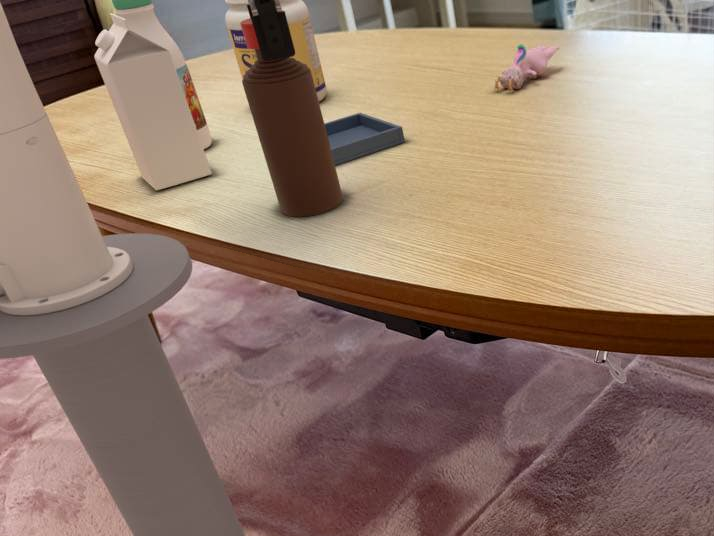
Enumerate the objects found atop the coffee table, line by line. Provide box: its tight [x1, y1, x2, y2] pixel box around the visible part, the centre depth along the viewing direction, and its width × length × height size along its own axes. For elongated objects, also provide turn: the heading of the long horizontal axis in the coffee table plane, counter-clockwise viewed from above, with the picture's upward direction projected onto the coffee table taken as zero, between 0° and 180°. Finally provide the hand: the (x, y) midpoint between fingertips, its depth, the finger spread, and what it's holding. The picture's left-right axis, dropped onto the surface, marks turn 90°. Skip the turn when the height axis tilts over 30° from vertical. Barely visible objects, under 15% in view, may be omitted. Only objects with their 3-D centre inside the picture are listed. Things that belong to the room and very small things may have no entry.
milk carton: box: [94, 12, 213, 191], centre depth 98 cm, size 7×7×19 cm
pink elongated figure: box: [494, 43, 560, 94], centre depth 123 cm, size 6×6×15 cm
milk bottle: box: [111, 0, 213, 150], centre depth 107 cm, size 8×8×20 cm
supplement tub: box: [224, 0, 327, 103], centre depth 123 cm, size 12×12×17 cm
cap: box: [240, 18, 260, 49], centre depth 80 cm, size 4×4×2 cm
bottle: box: [241, 49, 344, 218], centre depth 85 cm, size 7×7×18 cm
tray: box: [324, 112, 406, 166], centre depth 106 cm, size 13×11×2 cm
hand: (276, 49), depth 82 cm, fingers open, 6 cm apart
